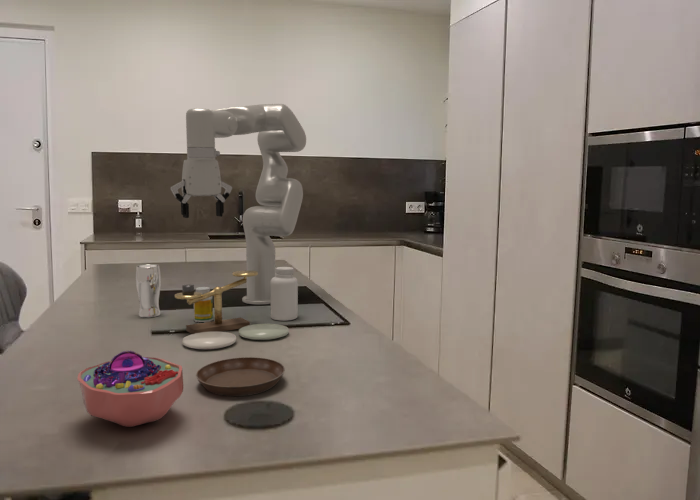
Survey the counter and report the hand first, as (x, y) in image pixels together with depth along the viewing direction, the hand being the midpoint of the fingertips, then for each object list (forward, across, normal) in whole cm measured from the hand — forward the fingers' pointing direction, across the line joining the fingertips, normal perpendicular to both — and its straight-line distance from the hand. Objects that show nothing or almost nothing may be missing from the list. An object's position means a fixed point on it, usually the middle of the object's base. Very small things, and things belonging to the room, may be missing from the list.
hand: (202, 216), depth 167 cm
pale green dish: (+30, -8, +21) cm, 38 cm away
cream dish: (+30, +7, +21) cm, 37 cm away
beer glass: (+30, +11, -17) cm, 37 cm away
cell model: (+30, +34, +58) cm, 74 cm away
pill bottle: (+31, -22, +7) cm, 38 cm away
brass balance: (+30, 0, +8) cm, 31 cm away
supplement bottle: (+30, 0, -2) cm, 31 cm away
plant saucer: (+31, +12, +52) cm, 61 cm away
